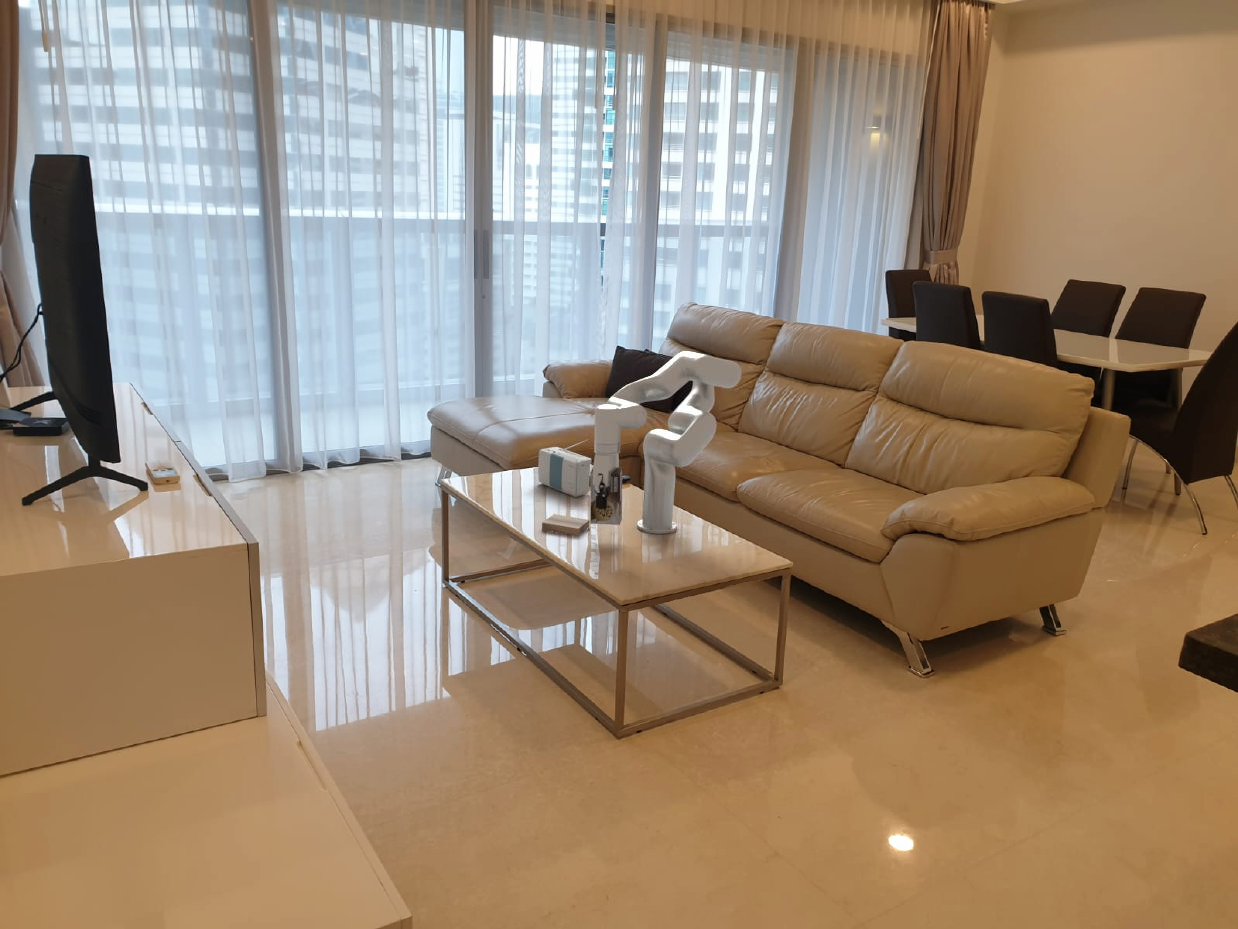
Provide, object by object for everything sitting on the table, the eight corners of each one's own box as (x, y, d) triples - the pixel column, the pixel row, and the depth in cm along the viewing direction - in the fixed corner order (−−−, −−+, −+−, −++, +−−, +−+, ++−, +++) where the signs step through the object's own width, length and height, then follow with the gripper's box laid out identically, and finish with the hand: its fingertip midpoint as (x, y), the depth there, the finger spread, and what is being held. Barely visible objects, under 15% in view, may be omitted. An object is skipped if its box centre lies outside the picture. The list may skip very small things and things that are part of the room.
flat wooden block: (554, 521, 286) (554, 514, 285) (589, 527, 282) (589, 520, 282) (541, 530, 278) (542, 522, 277) (577, 536, 274) (578, 528, 273)
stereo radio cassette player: (536, 484, 324) (538, 430, 319) (554, 480, 330) (556, 427, 324) (573, 499, 310) (576, 442, 304) (592, 495, 315) (594, 439, 310)
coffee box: (622, 518, 273) (623, 467, 268) (620, 525, 267) (621, 473, 262) (592, 516, 274) (592, 465, 269) (589, 524, 268) (590, 472, 263)
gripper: (606, 438, 273) (605, 494, 278) (583, 453, 257) (583, 511, 262) (629, 441, 270) (628, 497, 276) (608, 456, 255) (607, 515, 260)
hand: (606, 503), depth 269 cm, fingers closed on coffee box, 7 cm apart
